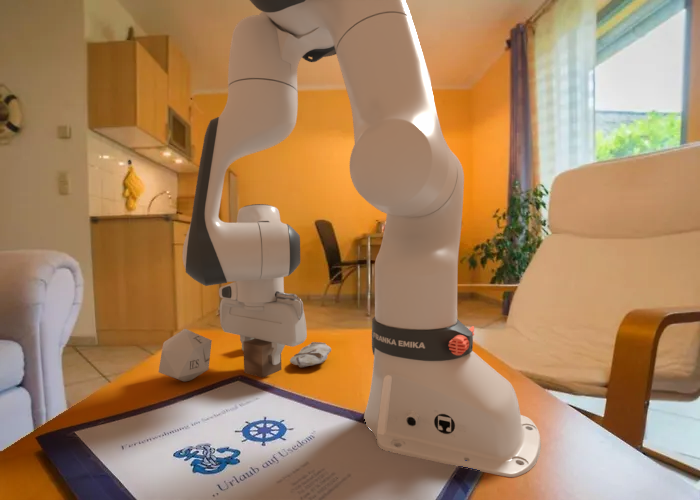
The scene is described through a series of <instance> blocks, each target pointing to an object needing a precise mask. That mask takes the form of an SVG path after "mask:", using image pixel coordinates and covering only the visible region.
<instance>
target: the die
mask: <svg viewBox="0 0 700 500" xmlns="http://www.w3.org/2000/svg"><path fill="white" fill-rule="evenodd" d="M211 350H212V339H210V338H207V337H205V336H202V335H200V334H198V333H195V332H193V331H191V330H189V329H186V328H183V329H181V330H180V331H179V332H177V333H176V334H174V335H172V336H171V337H170V338H168V339H167V340H165V341H164V342H163V344H162V348H161V355H160V361H159V366H158V373H159V374H162V375H165V376H168V377H170V378H173V379H175V380H178V381H181V382H184V383H185V382H190V381H192V380H194V379H195V378H197V377H199V376H200V375H202V374H203V373H205V372H207V371H208V370H209V369H210V368H209V367H210V358H211Z"/></svg>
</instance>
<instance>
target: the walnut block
mask: <svg viewBox="0 0 700 500" xmlns="http://www.w3.org/2000/svg"><path fill="white" fill-rule="evenodd" d="M243 347H244V351H243V372H244V373H245V374H247V375H252V376H255V377H259V378H265V377H267V376H270V375H272V374H275V373H277V372H279V371H281V370H282V353H281V354H280V363H279V364H277V365H273V364H269V362H268V361H269V359H268V355H270V354H272V352H273V350H274V348H273V347H272V342H269V341H264V340H259V339H255V338H254V339H252V340H249V341H246V342H243Z"/></svg>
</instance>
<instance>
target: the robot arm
mask: <svg viewBox="0 0 700 500" xmlns="http://www.w3.org/2000/svg"><path fill="white" fill-rule="evenodd" d="M249 2H251V4H252V5H253V6H254V7H256V9H258V10H260V11H261V12H260V13H259V14H256V15H255V14H254V15H248V16H245V17H243V18H242V19H240V20H239V21H238V22H237V23H236V25H235V27H234V29H233V32H232V34H231V35H232V36H231V42H230V48H229V58H228V69H227V70H228V71H227V72H228V73H227V89H228V90H227V91H228V92H227V98H226V99H227V101H226V104H225V106H224V108H223V110H222V111H221V114H220V115H219V116H217V117H214V118H213V119H210V121H209V123H208V125H207V127H206V130H205V132H204V138H203V143H202V149H201V156H200V159H199V166H198V167H199V168H198V172H197V173H198V174H197V178H196V179H197V180H196V186H195V193H194V198H193V207H192V213H191V220H190V224H189V227H188V229H187V232H186V234H185V239H184V241H183V246H182V263H183V267H184V270H185V273H186V274H187V275H188V276H189V277H190V278H192V279H193V281H196V282H198V283H199V284H201V285H203V286H205V287H207V286H215V285H220V284H221V285H222V284H226V285H223V286H220V287H219V289H218V290H219V291H218V293H219V297H220V298H221V300H220V304H219V318H220V319H219V321H220V322H219V323H220V327H221V329H222V330H223V332H224V333H227V334H233V335H237V336H239V337H240V338H239V339H240V343H241V346H242V345H243V342H246V341H249V340H251V339H252V338H255V339H259V340H264V341H269V342H272V347H273V348H274V350H273V352H272V354H270V355H268V359H269V361H268V362H269V364H273V365H277V364H279V363H280V354H281V355H282V352H283V350H284V348H285V347H286V346H287V347H296V346H298V345H301V344H302V343H304V342H305V341H306V340H307V336H308V334H307V322H306V315H305V311H304V303H303V301H302V299H301V298H300V297H299V296H298V295H297V294H296V293H287V292H285V288H284V287H285V286H284V285H285V283H284V281H285V279H284V277H289V276H290V275H292V274H293V273H294V272H295V271H296V269H297V268H298V267H299V266H300V264H301V236H300V234H299V233H298V231H296V230H295V229H294V228H293V227H292V226H291V225H289V224H288V223H284V222H282V221H281V215H280V211H279V209H278V208H277V207H276V206H274V205H271V204H266V203H264V204H263V203H257V204H256V203H253V204H248V205H244V206H242V207H241V208H239V209H238V212H237V217H236V222H226V221H223V220H221V219H220V217H219V216H220V215H219V214H220V210H221V209H220V208H221V202H222V196H223V188H224V182H225V178H226V172H227V170H228V168H229V167H230V165H232V164H233V163H234V162H236V161H237V160H239V159H241V158H243V157H246V156H248V155H252V154H255V153H258V152H261V151H265V150H267V149H270V148H273V147H274V146H277V145H279V144H280V143H281V142H283V141H284V140H286V139H287V138H288V137H289V136H290V135H291V134H292V133H293V130H294V129H295V127H296V124H297V120H298V119H297V118H298V111H299V110H298V107H299V100H298V99H299V97H298V96H299V95H298V94H299V93H298V92H299V90H298V69H299V68H298V67H299V63H300V61H301V60H302V59H303V60H305V61H307V62H309V63H315V62H318V61H319V60H321V59H323V58H326V57H332V56H335V55H336V57H337V58H336V59H337V61H338V64H339V68H340V71H341V72H340V73H341V75H342V79H343V81H344V85H345V89H346V93H347V96H348V99H349V103H350V108H351V113H352V114H351V115H352V123H353V137H354V138H353V140H354V144H353V148H352V150H351V153H350V157H349V174H350V178H351V182H352V185H353V186H354V188H355V190H356V192H357V193H358V194H359V195H360V196H361V197H362V198H363V199H364V200H365V201H366V202H367V203H368V204H370V205H371V206H372V207H374V208H375V209H377V210H378V211H380V212H381V213H384V214H386V218H385V219H386V220H385V223H384V229H383V236H382V240H381V245H380V248H379V251H378V253H377V255H376V258H375V262H374V317H373V318H372V319H371V349H372V355H373V365H372V366H373V367H372V375H371V376H372V377H371V384H370V389H369V390H370V391H369V396H368V400H367V405H366V408H365V411H364V413H363V420H364V419H365V421H364V423H365V422H366V424H367V426H368V427H369V428H370V429H371V430H372V432H373V433H374V434H375V435H376V436H375V435H374V434H373V433H372V432H371V433H372V434H373V435H374V436H375V440H376V439H377V440H376V444H377V446H379V447H380V448H381V449H380V448H379V447H378V448H379V449H380V450H382V449H383V450H382V451H384V450H385V451H384V452H388V451H391V452H390V453H393V454H397V453H398V454H397V455H402V456H407V457H412V458H417V459H421V460H427V461H431V462H436V463H440V464H445V465H449V464H452V465H451V466H453V465H457V466H456V467H458V466H463V467H468V468H473V469H477V470H480V471H479V472H483V473H488V474H492V475H497V476H502V477H504V478H506V477H507V478H517V477H519V476H522V475H524V474H526V473H528V472H529V471H530V470H531V469H533V468H534V467H535V465H536V463H537V462H538V460H539V457H540V455H541V451H542V450H541V447H542V446H541V445H542V444H541V435H540V431H539V429H538V427H537V425H536V424H535V422H534V421H533V420H532V419H531V418H529V417H528V416H525V415H522V414H521V410H520V405H519V399H518V397H517V394H516V393H517V392H516V391H515V389H514V387H513V385H512V383H511V382H510V381H509V380H508V379H507V378H505V377H504V376H503V375H501V374H500V373H499V372H497V370H496V369H494V368H493V367H492V366H491V365H489V363H487V362H486V361H485V360H483V359H482V357H480V356H479V355H478V354H477V353H476V352H474V351H473V346H474V343H473V342H474V340H473V338H474V336H475V326H474V325H472V326H470V328H468V327H467V326H466V325H465V324H463V323H462V322H461V321H460V320H459V319H458V275H459V274H458V272H459V271H458V270H459V269H458V267H459V266H458V265H459V252H460V251H459V250H460V242H461V233H462V232H461V231H462V221H463V206H464V205H463V204H464V188H465V187H464V184H465V174H464V167H463V166H462V163H461V162H460V160H459V158H458V156H457V155H456V154H455V153H454V152H453V151H452V150H451V149H450V147H449V145H448V144H447V143H448V142H447V141H446V139H445V137H444V135H443V132H442V127H441V124H440V119H439V117H438V113H437V107H436V104H435V97H434V94H433V89H432V80H431V79H432V78H431V75H430V72H429V69H428V67H427V63H426V60H425V57H424V53H423V51H422V50H423V49H422V47H421V45H420V44H421V43H420V41H419V38H418V34H417V31H416V26H415V25H414V21H413V17H412V14H411V12H410V9H409V6H408V4H407V2H406V0H249ZM229 282H230V283H229ZM227 283H229V284H227ZM366 424H365V425H366ZM367 426H366V427H367ZM465 460H467V461H465ZM463 467H462V468H463ZM468 468H467V469H468ZM477 470H476V471H477Z"/></svg>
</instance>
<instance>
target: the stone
mask: <svg viewBox="0 0 700 500" xmlns="http://www.w3.org/2000/svg"><path fill="white" fill-rule="evenodd" d="M331 352H332V348H331V347H330V346H329V345H327V344H326V343H325V342H320V341H318V342H317V341H311V343H309V344H308V345H305V346H304V347H302V348H301V349H300V351H298V353H296V354H294V356H292V357H290V359H289V361H290V364H293V365H295V366H298V368H307V367H309V366H315V365H320V364H323V363H324V362H325V361H326V360H327V359H328V355H329V354H330V353H331Z"/></svg>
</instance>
